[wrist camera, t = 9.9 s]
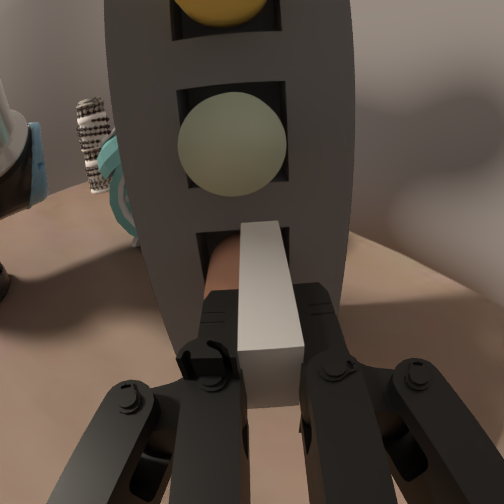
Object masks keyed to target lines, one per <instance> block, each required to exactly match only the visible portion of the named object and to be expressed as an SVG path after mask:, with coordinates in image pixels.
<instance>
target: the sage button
mask: <svg viewBox="0 0 504 504" xmlns="http://www.w3.org/2000/svg"><path fill="white" fill-rule="evenodd" d="M178 154H179V159H180V161H181V164H182V166H183V168H184V170H185V172H186V173H187V175H188V176H189V177H190V178H191V179H192V181H193V182H195V183H196V184H197V185H198V186H200V187H201V188H203V189H204V190H206V191H208V192H211V193H214V194H217V195H221V196H229V197H232V196H243V195H247V194H250V193H253V192H255V191H257V190H259V189H261V188H263V187H264V186H265V185H267V184H268V183H269V182H270V181H271V180H272V179H273V178H274V177H275V176H276V174H277V173H278V171H279V170H280V168H281V166H282V164H283V161H284V158H285V154H286V135H285V131H284V128H283V126H282V123H281V121H280V120H279V118H278V116H277V115H276V114H275V112H274V111H273V110H272V109H271V108H270V107H269V106H268V105H266V104H265V103H264V102H263V101H261V100H260V99H258V98H257V97H255V96H253V95H250V94H247V93H243V92H228V93H223V94H219V95H215V96H212V97H210V98H208V99H206V100H204V101H202V102H201V103H199V104H198V105H197V106H196V107H194V108H193V109H192V110H191V111H190V113H189V114H188V115H187V117H186V118H185V120H184V122H183V124H182V126H181V128H180V131H179V136H178Z"/></svg>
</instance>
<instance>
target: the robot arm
mask: <svg viewBox="0 0 504 504" xmlns="http://www.w3.org/2000/svg"><path fill="white" fill-rule="evenodd" d="M48 191H49V189H48V183H47V176H46V169H45V162H44V155H43V147H42V139H41V129H40V124H39V123H38V122H35V123H32V122H31V123H28V124H27V122H26V120H25V118H24V117H23V115H22V114H20V113H19V112H17V111H14V110H10V108H9V105H8V102H7V99H6V95H5V92H4V89H3V85H2V82H1V78H0V220H1V219H4V218H6V217H8V216H10V215H13V214H15V213H17V212H20V211H22V210H25V209H30V208H31V207H32V206H33V205H35V204H37V203H39V202H42V201H43V200H45V198H46V197H47V195H48ZM9 284H10V278H9V276H8V274H7V272H6V270H5V268H4V266H3V265H2V264H1V263H0V301H1V299H2V298H3V297H4V295H5V294H6V292H7V290H8V287H9ZM201 313H202V315H201V318H200V325H199V331H198V337H197V338H196V339H194V340H192V341H190V342H188V343H186V344H185V345H184V346H183V347H182V348H181V349H180V350H179V352H178V354H177V356H176V361H177V363H178V366H179V368H180V371H181V373H182V376H183V378H181V379H179V380H178V381H176V382H173V383H170V384H167V385H163V386H159V387H154V388H149V386H148V385H147V384H145V383H143V382H141V381H137V380H127V381H123V382H120V383H118V384H117V385H115V386H113V387H112V388H111V390H110V391H109V392H108V393H107V394H106V396H105V398H104V399H103V401H102V403H101V404H100V406H99V408H98V410H97V411H96V413H95V415H94V416H93V418H92V420H91V422H90V423H89V425H88V427H87V429H86V430H85V432H84V434H83V436H82V437H81V439H80V441H79V443H78V445H77V446H76V448H75V450H74V452H73V454H72V456H71V457H70V459H69V461H68V463H67V465H66V467H65V468H64V470H63V472H62V474H61V476H60V478H59V480H58V482H57V484H56V486H55V488H54V489H53V491H52V493H51V495H50V497H49V499H48V501H47V503H46V504H160V502H161V500H162V497H163V495H164V492H165V490H166V487H167V485H168V482H169V480H170V477H171V486H170V496H169V504H250V462H249V425H248V420H247V409H253V408H270V407H283V406H294V405H299V400H300V407H301V419H300V427H299V433H302V440H303V448H304V457H305V465H306V474H307V483H308V492H309V502H310V504H398V503H397V498H396V493H395V489H394V485H393V480H392V476H393V478H394V480H395V482H396V483H397V485H398V487H399V489H400V491H401V492H402V494H403V496H404V498H405V500H406V501H407V503H408V504H504V459H503V457H502V456H501V454H500V453H499V451H498V450H497V448H496V447H495V446H494V444H493V443H492V441H491V440H490V438H489V437H488V435H487V434H486V433H485V431H484V430H483V428H482V427H481V426H480V424H479V423H478V421H477V420H476V419H475V417H474V416H473V415H472V413H471V412H470V411H469V409H468V408H467V407H466V405H465V404H464V403H463V401H462V400H461V399H460V397H459V396H458V395H457V393H456V392H455V391H454V390H453V388H452V387H451V386H450V384H449V383H448V382H447V381H446V379H445V378H444V377H443V376H442V374H441V373H440V372H439V371H438V369H437V368H436V367H435V366H434V365H432V364H431V363H430V362H428V361H426V360H423V359H418V358H410V359H407V360H403V361H402V362H401V363H399V364H398V365H397V366H396V368H395V370H392V369H382V368H374V367H369V366H366V365H363V364H361V363H359V362H358V361H357V360H356V359H355V358H354V357H353V356H352V355H350V353H349V351H348V349H347V347H346V344H345V340H344V337H343V334H342V331H341V328H340V325H339V322H338V319H337V316H336V314H335V310H334V307H333V305H332V301H331V299H330V296H329V293H328V291H327V290H326V289H325V288H324V287H323V286H322V285H321V284H320V283H319V282H313V283H300V284H292V282H291V277H290V272H289V268H288V263H287V258H286V254H285V249H284V245H283V240H282V236H281V231H280V227H279V223H278V221H263V222H248V223H241V233H240V266H239V289H229V290H212V291H210V293H209V294H208V295H207V297H206V298H205V299H204V301H203V306H202V312H201ZM391 474H392V476H391ZM171 475H172V476H171Z"/></svg>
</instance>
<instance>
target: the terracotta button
mask: <svg viewBox="0 0 504 504" xmlns="http://www.w3.org/2000/svg"><path fill="white" fill-rule="evenodd" d="M240 233H241V232H236V233H233V234H230V235H228V236H226V237H224V238H223V239H221V240H220V241H219V242H218V243H217V244H216V245H215V247H214V248H213V250H212V253H211V256H210V262H209V267H208V273H207V279H206V285H205V291H204V299H205V298H206V297H207V295H208V294H209V293H210V291H212V290H229V289H239V266H240Z"/></svg>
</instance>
